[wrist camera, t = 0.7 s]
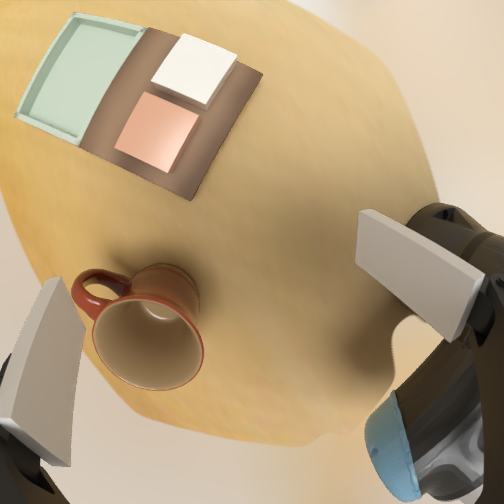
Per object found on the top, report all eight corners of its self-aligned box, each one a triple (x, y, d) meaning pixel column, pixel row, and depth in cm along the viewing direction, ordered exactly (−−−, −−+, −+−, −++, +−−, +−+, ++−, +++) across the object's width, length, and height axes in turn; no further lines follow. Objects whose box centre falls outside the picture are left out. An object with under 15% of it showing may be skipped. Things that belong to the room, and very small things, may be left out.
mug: (222, 284, 29) (227, 340, 19) (179, 341, 30) (169, 405, 21) (126, 218, 26) (82, 245, 16) (90, 283, 27) (47, 331, 17)
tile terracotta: (200, 120, 21) (199, 115, 19) (172, 172, 22) (167, 172, 20) (151, 98, 20) (144, 91, 18) (123, 149, 21) (114, 147, 19)
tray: (152, 39, 21) (147, 28, 18) (89, 147, 23) (78, 146, 21) (82, 21, 18) (73, 12, 16) (26, 119, 21) (13, 116, 18)
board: (258, 83, 24) (263, 74, 21) (193, 197, 26) (190, 201, 23) (154, 39, 21) (148, 27, 18) (91, 148, 23) (78, 147, 20)
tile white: (235, 65, 20) (237, 55, 18) (206, 111, 21) (205, 104, 19) (186, 44, 19) (183, 33, 17) (156, 89, 20) (150, 80, 18)
